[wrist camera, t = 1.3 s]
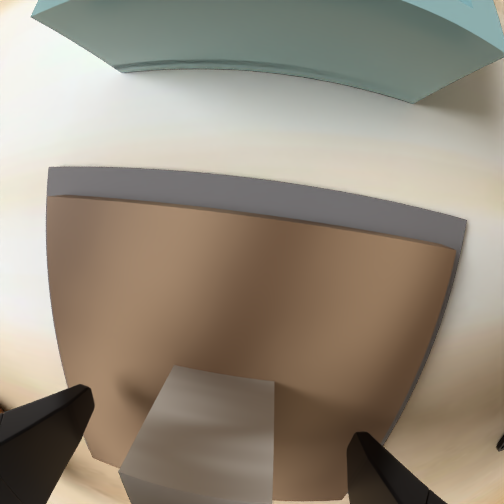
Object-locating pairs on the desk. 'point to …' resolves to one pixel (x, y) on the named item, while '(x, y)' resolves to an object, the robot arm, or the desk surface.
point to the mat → (267, 209)
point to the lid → (235, 343)
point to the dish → (291, 38)
